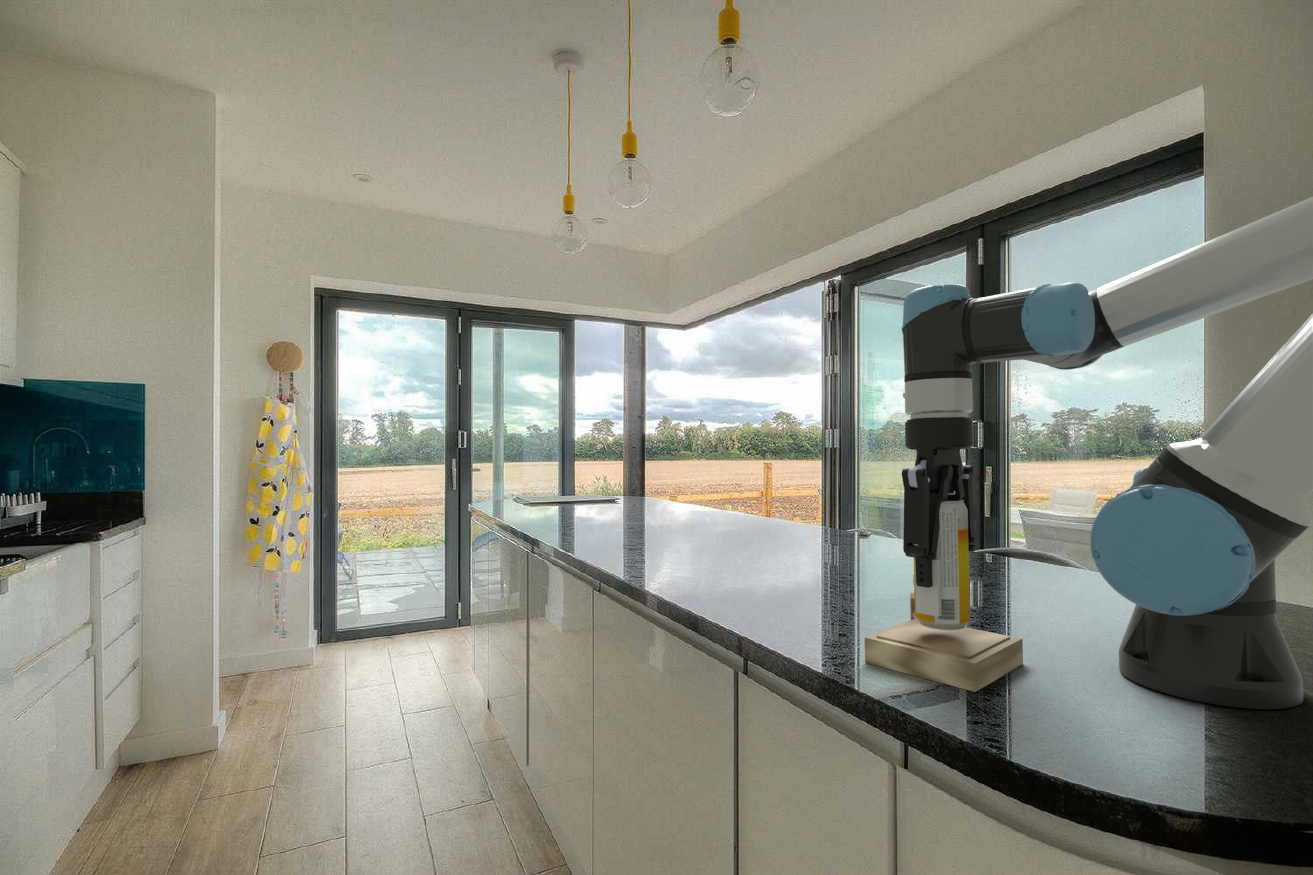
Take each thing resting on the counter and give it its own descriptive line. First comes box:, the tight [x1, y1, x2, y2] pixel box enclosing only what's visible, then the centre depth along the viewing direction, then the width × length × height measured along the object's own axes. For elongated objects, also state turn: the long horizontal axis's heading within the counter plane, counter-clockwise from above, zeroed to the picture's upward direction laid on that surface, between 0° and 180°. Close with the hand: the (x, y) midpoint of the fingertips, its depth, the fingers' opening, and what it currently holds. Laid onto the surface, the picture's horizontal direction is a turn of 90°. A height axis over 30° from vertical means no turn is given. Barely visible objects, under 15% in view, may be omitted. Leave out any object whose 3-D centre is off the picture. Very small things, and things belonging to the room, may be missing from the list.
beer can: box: [913, 499, 971, 630], centre depth 78 cm, size 6×6×15 cm
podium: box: [864, 618, 1024, 693], centre depth 78 cm, size 13×13×3 cm
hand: (942, 608), depth 78 cm, fingers closed on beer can, 6 cm apart
